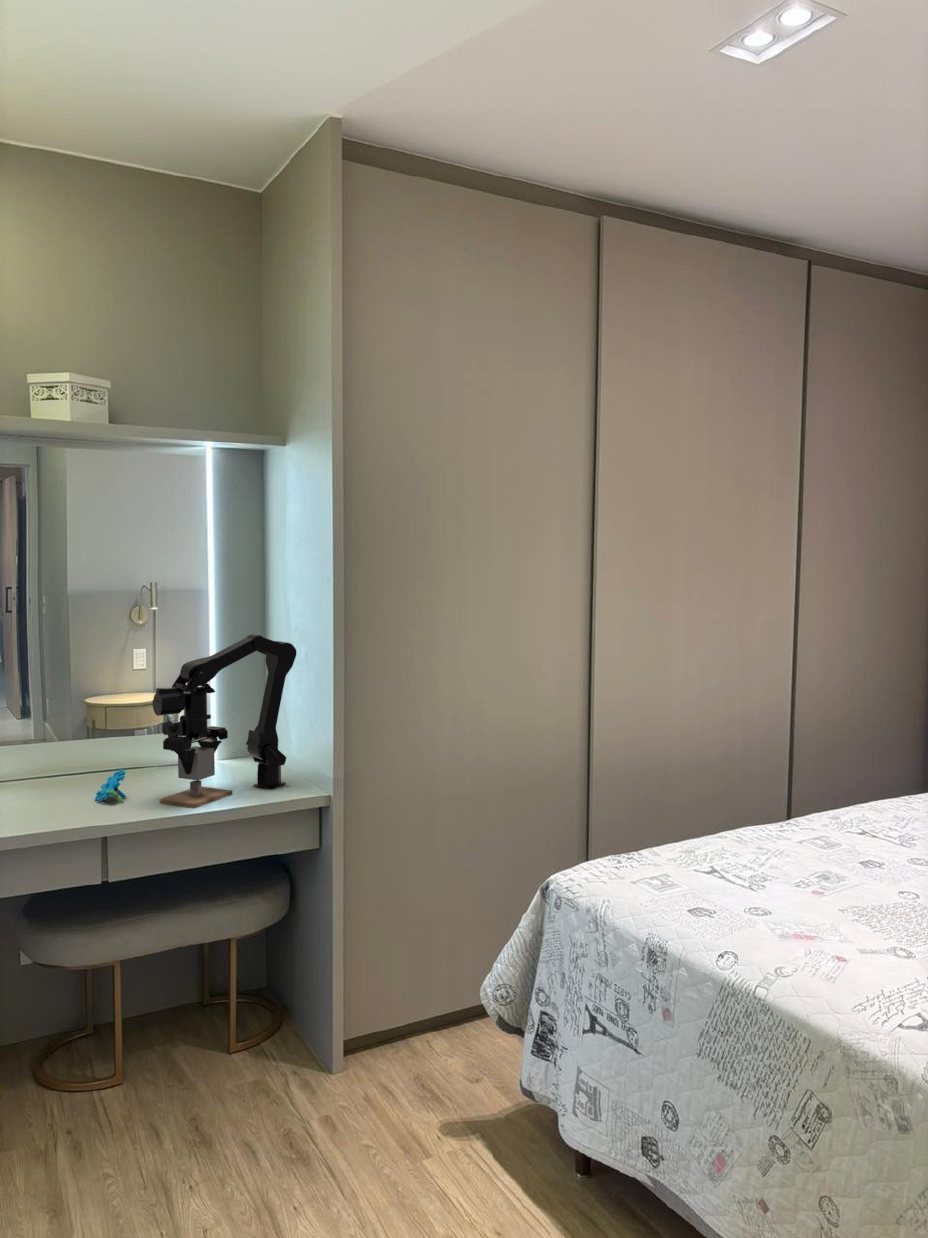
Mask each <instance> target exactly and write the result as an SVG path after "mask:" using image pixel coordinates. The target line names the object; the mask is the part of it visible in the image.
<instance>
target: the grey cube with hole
mask: <svg viewBox="0 0 928 1238" xmlns="http://www.w3.org/2000/svg"><path fill="white" fill-rule="evenodd" d="M191 748H194V749H195V754H194V759H193V764H192V769H191V773H190V774H186V773H185V770H184V768H183V765H182V763H181V760H180V758H179V756H178V755H177V770H178V771H177V772H178V776H177V778H178V779H185V780H191V781H195V780H200V781H202V780H205V779H207V778H210V777H213V776H215V773H216V772H215V771H216V767H215V766H216V765H215V764H216V763H215V753H214V748H207V747H201V746H198V745H197V746H196V745H193V746H191Z"/></svg>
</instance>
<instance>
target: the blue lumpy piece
mask: <svg viewBox="0 0 928 1238" xmlns="http://www.w3.org/2000/svg"><path fill="white" fill-rule="evenodd" d="M126 773H127V771H126V770H124V769H122V768H121V769H119V771H115V772H114V773H113V775H112V776H108V778H106V782H105V783H103V784H102V785H100V788H101V790H98V791H97V792H96V793H95V794H96V795H95V797H94V800H95V801H96V802H98V803H101V802H102V800H103V801H105V800H106V799H107V798H108V796H111V798H112V799H113V800H115V799H116V800H117V801H119V802H120V803H122V804H124V802H125V800H124V799H125V798H126V797H127V795H126V794H125V793H124V792H123V791H122V790H120V789H119V787H120V785H121V782H120V781H123V780H125V778H126V776H125V775H126ZM123 798H124V799H123Z"/></svg>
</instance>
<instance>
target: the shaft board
mask: <svg viewBox="0 0 928 1238" xmlns="http://www.w3.org/2000/svg"><path fill="white" fill-rule="evenodd" d="M231 795H233V790H231V789H225V788H224V789H223V788H218V787H217V788H216V787H208V786H202V780H191V781H189V788H188V789H186V790H183V791H179V792H177V793H174V794H171V795H169V796H165V797H162V798H160V799H159V804H162V805H163V804H165V805H169V806H177V807H185V808H191V809H196V808H198V807H201V806H205V805H207V804H209V803H212V802H215V801H218V800H221V799H223V798H224V799H225V798H226V797H229V796H231Z"/></svg>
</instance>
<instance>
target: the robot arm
mask: <svg viewBox="0 0 928 1238" xmlns="http://www.w3.org/2000/svg"><path fill="white" fill-rule="evenodd" d="M255 652H259V654H261V655H262V654H263V655H264V656H265V665H266V670H267V677H266V683H265V686H264V687H265V688H264V692H263V698H262V702H261V708H260V714H259V718H258V723H257V726H256V727H255V728H254V730H252V729H250V730H248V733H247V734H248V736H247V741H246V743H245V745H246V746H247V749H246V750H247V752H248V754H249V755H250V756H252V759H253V761H254V763H258V764H257V771H256V772H257V773H256V775H257V777H256V778H257V779H256V781H257V782H256V783H254V784H253V785H252V787H254V788H260V789H267V790H269V789H270V790H275V789H278V788H279V787H281V786H284V785H286V783H287V782H285V781H282V771H281V770H282V766H285V764H286V761H287V756H286V755H285V754H284V753H283V752H281V751H280V750H279V736H278V733H277V724H278V717H279V712H280V709H281V708H280V707H281V702H282V697H283V694H284V693H283V691H284V687H285V681H286V677H287V675H288V674H289V672H290V671H291V670H292V668H293V665H294V663H295V660H296V657H297V649H296V647H295V645H293V643H290V642H286V641H280V640H272V639H269V638H266V637H264V636H262V635H259V634H253V633H251V634H249V635H247V636H245V638H242V639H241V640H239V641H237V642H234V643H232V644H230V645H229V646H227V647H226V648H223V649H221V650H220V651H218V652H216V653H214V654H212V655H210V656H207V657H206V656H205V657H201V658H197V659H193V660H190V661H187V662H185V663H184V664H183V665H181V668H180V672H179V674H178V676H177V678H176V679H175V681H174V682H173V684H172V685H171V687H164V688H163V687H158V688H157V687H156V689H155V694H154V695H153V699H152V709H153V713H154V714H155V715H156V716H157V717H161V716H167V715H175V714H181V713H182V711H183V715H180V716H179V721H178V722H174V723H173V722H172V721H171V720H169V721H165V722H162V723H161V724H162V725H161V730H162V731H161V732H162V734H163V735H164V736H167V737H166V738H164V740H163V741H162V749H163V750H166V751H171V752H174V753H175V754H176V755H177V757H178V756H179V758H180V760H181V763H182V765H183V768H184V770H185V773H186V774H190V773H191V769H192V764H193V759H194V754H195V749H194V748H191V747H192V745H193V744H194V743H198V745H199V747H207V748H214V754H215V753H216V751H217V749H218V748H219V746H220V744H222V740H225V739H228V737H229V734H228V733H229V732H228V730H227V728H226V727H222V726H213V725H210V726H208V720H210V719H211V718H212V714H209V713H208V694H213V693H216V690H215V688H213V687H211V685H210V684H209V683H210V681H212V680H213V679H214V678H215V677H216V675H218V674H219V672H221V670H223V669H225V668H227V667H229V666H230V665H232V664H234V663H235V664H236V663H237V662H239V661H240V660H242V659H244V658H245V657H247V656H248V657H249V656H250V655H251V654H253V653H255ZM218 739H219V740H218Z"/></svg>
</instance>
